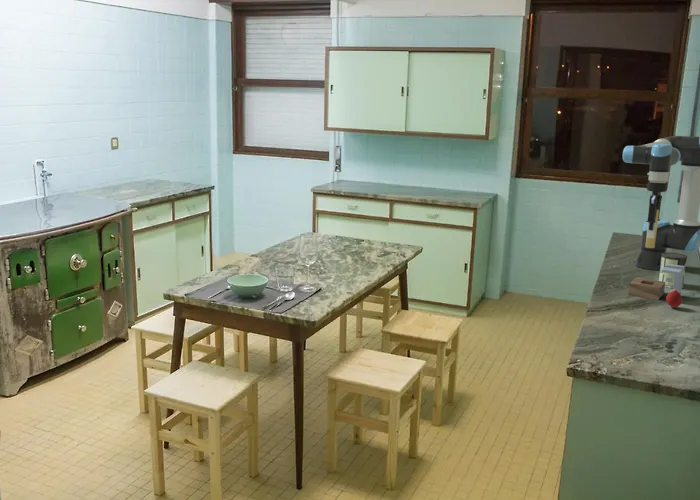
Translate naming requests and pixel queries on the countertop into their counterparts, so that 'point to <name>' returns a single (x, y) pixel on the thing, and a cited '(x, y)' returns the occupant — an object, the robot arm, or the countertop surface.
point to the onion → (674, 298)
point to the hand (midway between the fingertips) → (651, 236)
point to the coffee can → (675, 260)
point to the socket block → (646, 288)
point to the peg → (651, 241)
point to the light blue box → (678, 273)
